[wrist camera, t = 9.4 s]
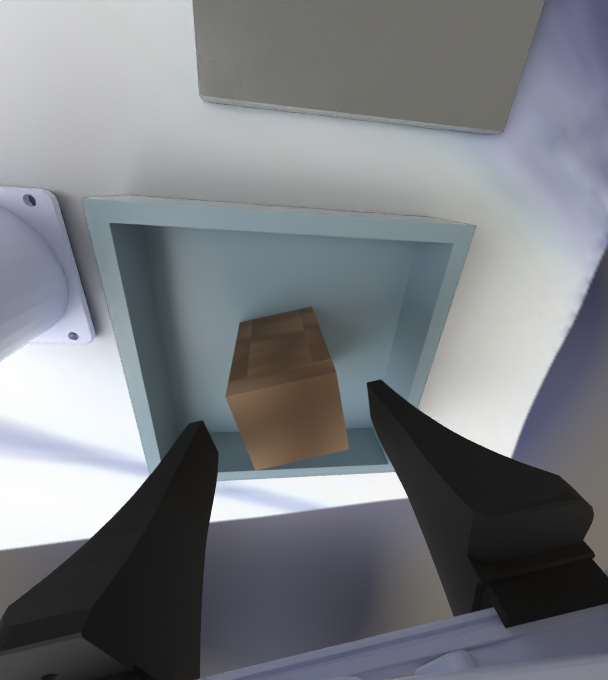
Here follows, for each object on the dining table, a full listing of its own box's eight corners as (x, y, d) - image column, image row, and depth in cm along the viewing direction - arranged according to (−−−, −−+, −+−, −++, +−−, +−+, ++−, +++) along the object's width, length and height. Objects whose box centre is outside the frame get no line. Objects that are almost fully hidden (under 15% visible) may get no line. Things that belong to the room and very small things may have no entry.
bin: (170, 435, 22) (151, 484, 18) (125, 194, 14) (80, 198, 11) (377, 429, 24) (397, 471, 20) (431, 217, 16) (476, 225, 13)
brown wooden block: (258, 380, 20) (255, 470, 13) (239, 322, 17) (225, 397, 11) (323, 366, 20) (349, 449, 13) (311, 306, 18) (336, 371, 11)
